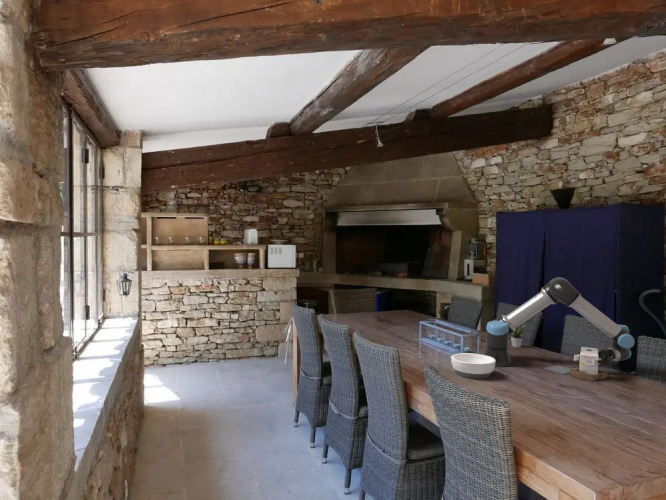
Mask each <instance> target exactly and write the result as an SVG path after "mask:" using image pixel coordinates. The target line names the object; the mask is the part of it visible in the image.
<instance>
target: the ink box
mask: <svg viewBox="0 0 666 500" xmlns="http://www.w3.org/2000/svg"><path fill="white" fill-rule="evenodd" d="M598 352H599V349H598V348H593V347H587V346H581V347H580V352H579V353H580V360H579V367H580V368H579V367H578V368H579V371H580V372H584V373H588V374H592V375H593V374H598V370H599V364H598V365H593V360H594V359H599V356H598Z"/></svg>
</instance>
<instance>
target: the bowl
mask: <svg viewBox="0 0 666 500" xmlns="http://www.w3.org/2000/svg"><path fill="white" fill-rule="evenodd" d="M450 360H451V364H452V365H451V366H452V367H453V370H454V371H455V373H456V375H457V376H460V377H463V378H466V379H467V378H468V379H480V380H481V379H486V378H489V377H490V376H491V374H492V373H493V372H494V369H495V367H496V366H495V362H496V360H495V359H494V358H492V357H490V356H486V355H484V354H481V353H471V352H469V353H468V352H465V353H464V352H462V353H455V354H452V355H451V356H450Z"/></svg>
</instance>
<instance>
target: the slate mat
mask: <svg viewBox="0 0 666 500" xmlns="http://www.w3.org/2000/svg"><path fill="white" fill-rule="evenodd" d="M543 369H545V370H546V371H547V370H548V371H551V372H554V373H558V374H562V375H568V374H570V369H571V368H570V367H566V366H563V365H562V366H561V365H559V364H558V365H552V366H547V367H544V368H543Z"/></svg>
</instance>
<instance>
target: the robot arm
mask: <svg viewBox="0 0 666 500" xmlns="http://www.w3.org/2000/svg"><path fill="white" fill-rule="evenodd" d="M559 302H560V303H562V304H564V305H565V306H566V307H568V308H572V309H573V310H575V311H576V312H577V313H579V314H580V315H581V316H582V317H583V318H585V319H586V320H587V321H588V322H590V323H591V324H592V325H593V326H595V327H596V328H598V329H599V330H600V331H601V332H602V333H604V334H605V335H606V336H607V337H609V338H610V339H611V341H612V343H611V347H608V348H602V349H601V350H600V351H598V356H599V359H594V360H593V365H598V366H599V365H602V364H603V365H605V364H606V365H607V366H609V365H610V364H613V363H616V362H620V361H621V362H622V361H623V362H624V361H626V360H628V359H630V358H631V356H632V350H631V349H632V348H633V347H634V345H635V343H636V342H635V338H634V337H633V335H631V334H629V327H628V326H627V325H624V324H617V323H616V322H615V321H613V320H612V319H611V318H609V317H608V316H607V315H606V314H604V313H603V312H602V311H600V310H599V309H598V308H597V307H595V306H594V305H593V304H592V303H590V302H589V301H587V300H586V299H585V298H584V297H583V296H582V294H581V293H580V291H578V290H577V289H576V288H575V287H574V285H572V283H570V282H569V280H567V279H566V278H565V277H559V276H558V277H554V278H552V279H551V280H550V281H549V282H548V283H546V284H545V285H544V286H542V287H541V290H540V292H538V293H537V294H536V295H534V296H532V297H531V298H530V299H529V300H527V301H525V302H524V303H523V304H521V305H520V306H518V307H517V308H516V309H514V310H512V311H511V312H510V313H508V314H507V315H504V314H502V315H500V316H499V317H498V318H496V319H494V320H492V321H491V320H490V321H488V322H487V323H486V327H485V328H486V338H485V339H486V342H485V343H486V344H485V345H486V348H485V352H484V354H483V355H486V356H490V357H492V358H494V359H495V360H496V362H495V367H499V368H501V367H502V368H503V367H504V368H505V367H510V366H511V363H512V361H511V358H510V354H509V352H508V350H509V349H508V348H509V336H511V335H513V334H512V333H513V332H514V333H515V330H516V327H518V326H519V327H520V326H521V325H522V324H523V323H525V322H526V321H528V320H530V319H531V318H532V317H534V316H536V315H537V314H538V313H540V312H541V311H543V310H544V309H545V308H547V307H549V306H550V305H556V304H558V303H559ZM520 324H521V325H520ZM580 353H581V352H577V354H574V355H573V361H575V362H576V361H580Z"/></svg>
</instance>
